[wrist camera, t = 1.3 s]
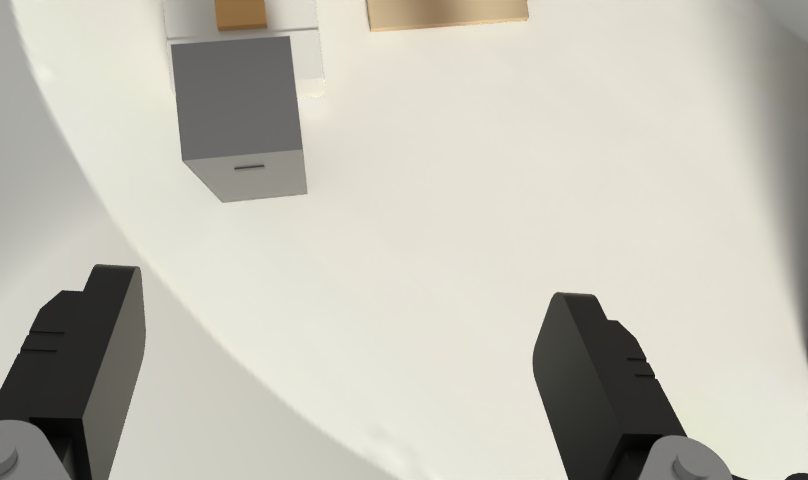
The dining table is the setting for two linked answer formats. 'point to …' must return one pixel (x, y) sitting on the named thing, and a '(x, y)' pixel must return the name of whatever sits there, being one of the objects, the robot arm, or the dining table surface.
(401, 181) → the dining table surface
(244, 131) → the block
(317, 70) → the power strip
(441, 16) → the coaster
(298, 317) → the dining table surface
